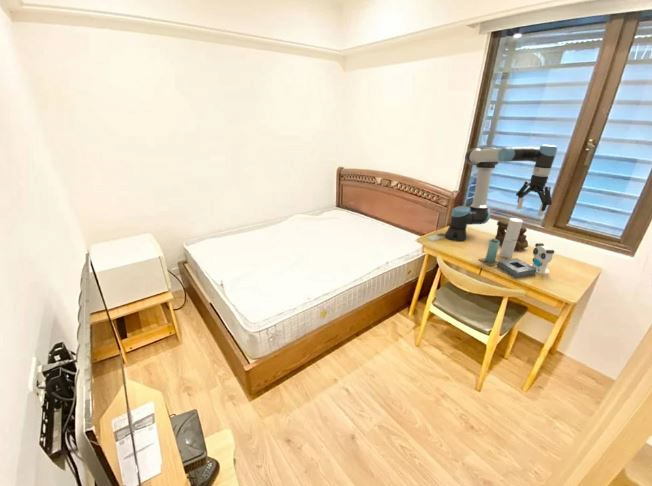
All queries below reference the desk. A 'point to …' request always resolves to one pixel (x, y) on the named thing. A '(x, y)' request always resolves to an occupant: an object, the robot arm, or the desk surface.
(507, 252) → the cylindrical container
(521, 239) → the brown lumpy upright piece
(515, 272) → the housing
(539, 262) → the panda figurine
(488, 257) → the teal cylinder
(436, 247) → the desk surface
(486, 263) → the pad
